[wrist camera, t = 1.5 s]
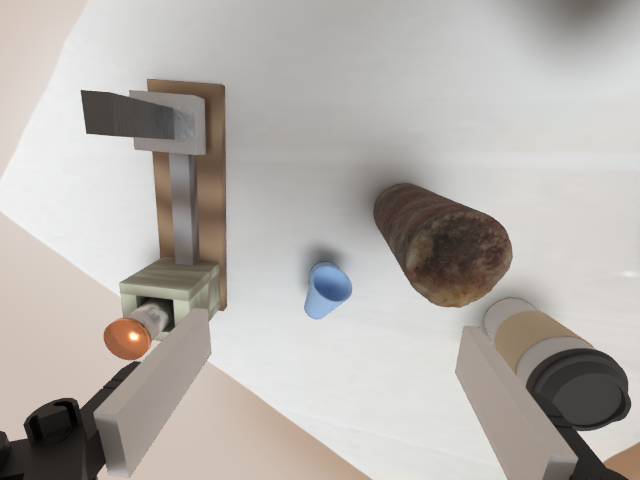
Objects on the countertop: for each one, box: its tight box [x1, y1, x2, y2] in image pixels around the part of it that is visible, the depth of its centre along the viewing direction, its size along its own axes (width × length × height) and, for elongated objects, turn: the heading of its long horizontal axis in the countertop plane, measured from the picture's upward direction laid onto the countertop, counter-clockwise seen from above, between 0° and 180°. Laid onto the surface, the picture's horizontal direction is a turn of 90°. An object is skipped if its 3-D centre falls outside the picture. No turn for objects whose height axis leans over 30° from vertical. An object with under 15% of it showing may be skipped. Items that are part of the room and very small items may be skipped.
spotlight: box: [304, 262, 352, 319], centre depth 38 cm, size 5×10×7 cm
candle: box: [374, 184, 513, 308], centre depth 30 cm, size 8×7×20 cm
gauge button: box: [104, 297, 174, 360], centre depth 34 cm, size 4×4×8 cm
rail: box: [119, 79, 227, 341], centre depth 36 cm, size 30×9×10 cm, turn 175°
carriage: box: [81, 90, 206, 155], centre depth 29 cm, size 6×7×12 cm
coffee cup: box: [484, 298, 631, 431], centre depth 35 cm, size 9×9×15 cm
